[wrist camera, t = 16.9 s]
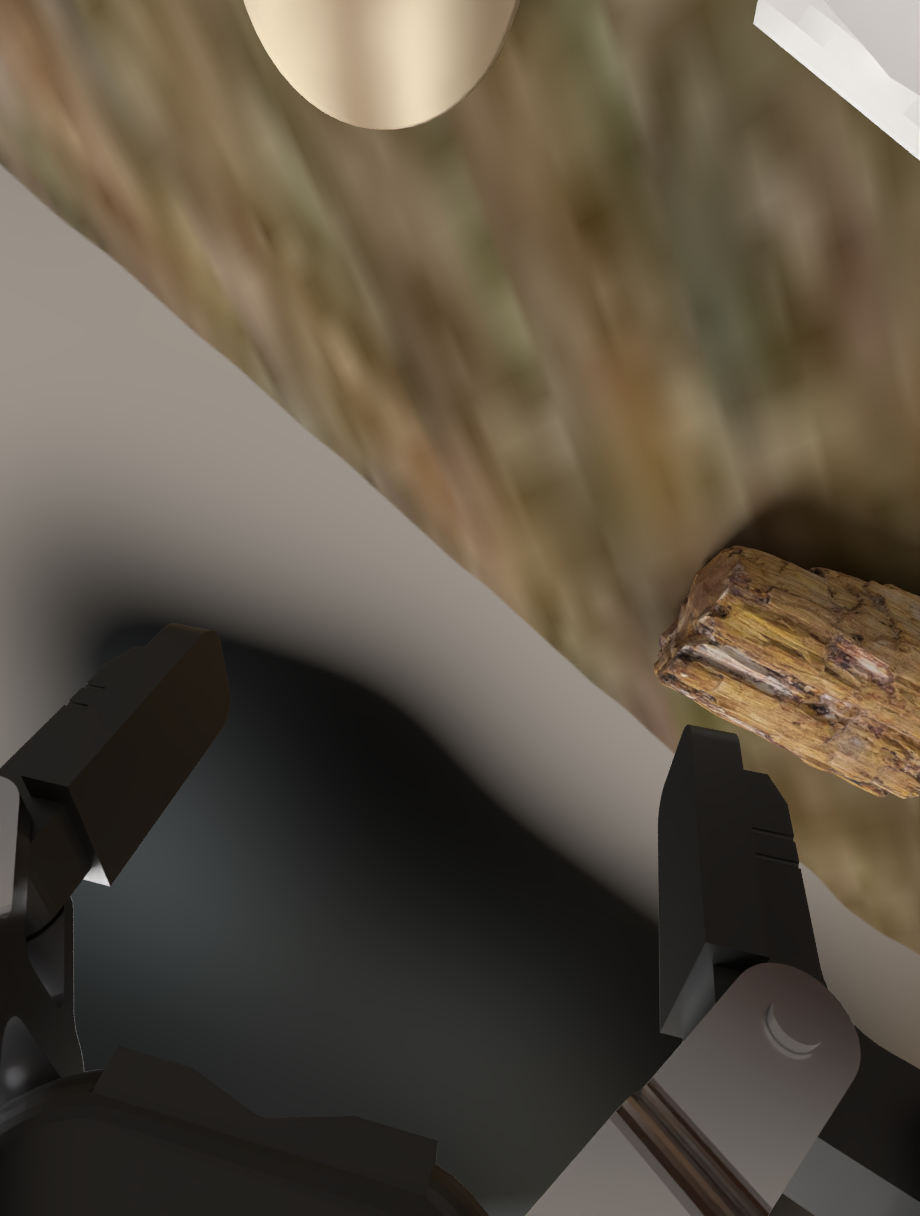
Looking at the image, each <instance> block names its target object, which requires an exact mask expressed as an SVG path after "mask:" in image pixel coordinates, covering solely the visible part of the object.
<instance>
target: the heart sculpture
mask: <svg viewBox="0 0 920 1216" xmlns="http://www.w3.org/2000/svg"><path fill="white" fill-rule="evenodd" d="M753 24H754V25H755V26H757V27H758V28H759V29H760V30H762V31H763V32H764V33H765V34H766V35H768V36H769V37H770V38H771V39H772V40H774V41H775V42H776V43H777V44H779V45H780V46H781V47H782V48H783V49H785V50H786V51H787V52H788V53H789V54H791V55H792V56H793V57H794V58H796V59H797V60H798V61H799V62H800V63H802V64H803V65H804V66H805V67H807V68H808V69H809V70H810V71H811V72H813V73H814V74H815V75H816V76H817V77H819V78H820V79H821V80H822V81H824V82H825V83H826V84H827V85H828V86H830V87H831V88H832V89H833V90H835V91H836V92H837V93H838V94H839V95H841V96H842V97H843V98H844V99H845V100H847V101H848V102H849V103H850V104H852V105H853V106H854V107H855V108H856V109H858V110H859V111H860V112H861V113H863V114H864V115H865V116H866V117H867V118H869V119H870V120H871V121H872V122H873V123H875V124H876V125H877V126H878V127H880V128H881V129H882V130H883V131H884V132H886V133H887V134H888V135H889V136H890V137H892V138H893V139H894V140H895V141H897V142H898V143H899V144H900V145H901V146H903V147H904V148H905V149H906V150H908V151H909V152H910V153H911V154H912V155H914V156H915V157H916V158H917V159H918V160H920V0H758V3H757V8H756V13H755V18H754V23H753Z"/></svg>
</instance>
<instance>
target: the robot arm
mask: <svg viewBox="0 0 920 1216" xmlns="http://www.w3.org/2000/svg"><path fill="white" fill-rule="evenodd" d="M230 701H231V698H230V690H229V685H228V680H227V674H226V669H225V664H224V659H223V653H222V649H221V643H220V639H219V636H218V635H217V633H216V632H214V631H212V630H206V629H201V628H196V627H191V626H186V625H181V624H176V623H172V624H169V625H167V626H165V627H164V628H163V629H162V630H161V631H160V632H159V633H158V634H157V635H156V636H155V637H154V638H153V639H152V641H151V642H150V643H149V644H148V645H147V646H146V647H139V646H136V647H134V648H132V649H131V650H129V651H127V652H125V653H123V654H122V655H120V656H118V657H116V658H114V659H113V660H111V661H109V662H107V663H106V664H105V665H104V666H103V668H102V669H100V670H99V671H98V672H97V673H96V674H95V675H94V676H93V677H92V678H91V679H90V680H89V681H88V682H87V683H86V687H85V688H81V689H80V690H79V691H78V692H77V693H76V694H75V695H74V696H73V697H72V698H71V699H70V700H69V704H68V705H67V706H65V705H64V706H63V707H62V708H61V709H60V710H59V711H58V712H57V713H56V714H55V715H54V716H53V717H52V718H51V719H50V720H49V721H48V722H47V723H46V724H45V725H44V726H43V727H42V728H41V729H40V730H39V731H38V732H37V733H36V734H35V735H34V736H33V737H32V738H31V739H30V740H29V741H27V742H26V743H25V744H24V745H23V746H22V747H21V748H20V749H19V750H18V751H17V752H16V754H15V755H13V756H12V757H11V758H10V760H8V761H7V762H6V763H5V764H4V765H3V766H2V767H1V768H0V1216H489V1215H488V1213H487V1212H486V1211H485V1210H484V1208H483V1207H482V1206H481V1205H480V1204H479V1202H478V1201H477V1200H476V1199H475V1197H474V1196H473V1195H472V1194H471V1192H469V1191H468V1190H467V1189H466V1188H465V1187H464V1186H463V1185H462V1184H461V1183H460V1182H459V1181H458V1180H457V1179H456V1178H454V1176H452V1175H451V1174H449V1173H448V1172H447V1171H445V1170H444V1169H443V1168H441V1167H440V1166H438V1165H437V1164H436V1154H437V1144H438V1141H436V1140H433V1139H429V1138H426V1137H423V1136H420V1135H416V1134H412V1133H409V1132H406V1131H403V1130H399V1129H396V1128H393V1127H389V1126H386V1125H382V1124H379V1123H376V1122H373V1121H369V1120H366V1119H362V1118H359V1117H355V1116H343V1117H301V1118H264V1117H261V1116H258V1115H257V1114H255V1113H253V1112H252V1111H251V1110H249V1109H248V1108H247V1107H245V1106H244V1105H242V1104H241V1103H240V1102H238V1101H237V1100H236V1099H234V1098H233V1097H231V1096H230V1095H229V1094H227V1093H226V1092H225V1091H223V1090H222V1089H221V1088H219V1087H218V1086H217V1085H215V1084H214V1083H212V1082H211V1081H210V1080H208V1079H207V1078H206V1077H204V1076H203V1075H202V1074H200V1073H199V1072H197V1071H196V1070H195V1069H193V1068H191V1067H188V1066H185V1065H181V1064H178V1063H174V1062H171V1061H168V1060H165V1059H161V1058H158V1057H154V1056H151V1055H148V1054H144V1053H141V1052H138V1051H134V1050H131V1049H128V1048H124V1047H121V1046H118V1047H117V1048H116V1050H115V1052H114V1054H113V1055H112V1057H111V1059H110V1060H109V1062H108V1064H107V1066H106V1067H105V1069H98V1070H93V1071H86V1072H84V1065H83V1058H82V1052H81V1048H80V1044H79V1040H78V1037H77V1033H76V1028H75V1020H74V942H73V939H74V938H73V937H74V931H73V901H72V899H71V894H72V893H73V892H74V890H75V889H76V888H77V886H78V885H79V884H80V883H81V881H82V880H83V879H84V880H88V881H92V882H95V883H99V884H103V885H107V886H111V885H112V883H113V882H114V880H115V878H116V877H117V876H118V874H119V873H120V872H121V870H122V869H123V868H124V866H125V865H126V863H127V862H128V861H129V859H130V858H131V856H132V855H133V854H134V852H135V851H136V849H137V848H138V846H139V845H140V844H141V842H142V841H143V839H144V838H145V837H146V835H147V834H148V832H149V831H150V830H151V828H152V827H153V825H154V824H155V822H156V821H157V820H158V818H159V817H160V816H161V814H162V813H163V811H164V810H165V808H166V807H167V806H168V804H169V803H170V801H171V800H172V799H173V797H174V796H175V794H176V793H177V792H178V790H179V789H180V787H181V786H182V784H183V783H184V782H185V780H186V779H187V777H188V776H189V775H190V773H191V772H192V770H193V769H194V767H195V766H196V765H197V763H198V762H199V761H200V759H201V758H202V756H203V755H204V754H205V752H206V751H207V749H208V748H209V746H210V745H211V744H212V742H213V741H214V739H215V738H216V737H217V735H218V734H219V732H220V731H221V729H222V728H223V726H224V724H225V722H226V719H227V717H228V713H229V709H230ZM793 837H794V834H793V829H792V824H791V819H790V814H789V809H788V804H787V803H786V801H785V800H784V798H783V797H782V795H781V794H780V792H779V791H778V789H777V788H776V786H775V785H774V783H773V782H772V780H771V779H770V777H769V776H768V775H767V774H762V773H757V772H752V771H747V770H743V763H742V756H741V749H740V743H739V739H738V736H737V735H736V734H734V733H729V732H724V731H719V730H714V729H709V728H703V727H698V726H693V725H686V727H685V728H684V730H683V733H682V735H681V738H680V741H679V744H678V747H677V750H676V753H675V756H674V759H673V761H672V765H671V767H670V770H669V773H668V776H667V779H666V782H665V784H664V788H663V791H662V795H661V801H660V807H659V816H658V882H659V975H660V1033H664V1034H668V1035H672V1036H676V1037H680V1038H683V1043H682V1044H681V1045H680V1046H679V1047H678V1049H677V1050H676V1051H675V1052H674V1053H673V1054H672V1055H671V1057H670V1058H669V1059H668V1060H667V1061H666V1062H665V1064H664V1065H663V1066H662V1067H661V1068H660V1069H659V1071H658V1072H657V1073H656V1074H655V1075H654V1076H653V1078H652V1079H651V1080H650V1081H649V1082H648V1083H647V1084H646V1085H645V1086H644V1088H642V1089H641V1090H640V1091H639V1092H635V1093H634V1094H632V1095H631V1096H630V1097H629V1098H628V1099H627V1100H626V1101H625V1102H624V1103H623V1104H622V1105H621V1106H620V1107H619V1108H618V1109H617V1110H616V1112H615V1113H614V1114H613V1115H612V1116H611V1117H610V1118H609V1119H608V1121H607V1122H606V1123H605V1124H604V1125H603V1126H602V1128H601V1129H600V1130H599V1131H598V1132H597V1133H596V1135H595V1136H594V1137H593V1138H592V1139H591V1140H590V1141H589V1143H588V1144H587V1145H586V1146H585V1147H584V1148H583V1150H582V1151H581V1152H580V1153H579V1154H578V1156H576V1158H575V1159H574V1160H573V1161H572V1162H571V1163H570V1165H569V1166H568V1167H567V1168H566V1169H565V1170H564V1171H563V1173H562V1174H561V1175H560V1176H559V1177H558V1178H557V1180H556V1181H555V1182H554V1183H553V1184H552V1185H551V1187H550V1188H549V1189H548V1190H547V1191H546V1193H545V1194H544V1195H543V1196H542V1197H541V1198H540V1199H539V1200H538V1202H537V1203H536V1204H535V1205H534V1206H533V1207H532V1208H531V1210H530V1211H529V1212H528V1213H527V1214H526V1215H525V1216H768V1215H769V1213H770V1211H771V1210H772V1208H773V1207H774V1205H775V1203H776V1202H777V1200H778V1199H779V1197H780V1195H781V1194H782V1193H783V1194H784V1195H786V1196H787V1197H789V1198H790V1199H792V1200H793V1201H795V1202H796V1203H797V1204H799V1205H801V1206H802V1207H803V1208H805V1209H806V1210H808V1211H809V1212H811V1213H812V1214H814V1215H815V1216H920V1069H918V1068H917V1067H915V1066H913V1065H911V1064H910V1063H908V1062H906V1061H904V1060H902V1059H901V1058H899V1057H897V1056H895V1055H894V1054H892V1053H890V1052H888V1051H887V1050H885V1049H884V1048H882V1047H881V1046H879V1045H877V1044H876V1043H875V1042H873V1041H872V1040H871V1039H869V1038H868V1037H867V1036H866V1035H864V1034H863V1033H862V1032H861V1031H860V1030H859V1029H858V1028H857V1027H856V1026H855V1025H854V1024H853V1022H852V1020H851V1018H850V1016H849V1014H848V1013H847V1011H846V1010H845V1008H844V1007H843V1006H842V1004H841V1003H840V1001H839V1000H838V999H837V998H836V997H835V996H834V994H832V992H831V991H830V990H828V988H827V985H826V983H825V981H824V978H823V975H822V971H821V968H820V963H819V958H818V953H817V948H816V943H815V939H814V933H813V928H812V923H811V918H810V914H809V908H808V903H807V898H806V894H805V888H804V884H803V879H802V874H801V869H799V868H798V864H799V859H798V854H797V849H796V844H795V842H793Z"/></svg>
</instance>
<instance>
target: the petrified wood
mask: <svg viewBox="0 0 920 1216" xmlns="http://www.w3.org/2000/svg"><path fill="white" fill-rule="evenodd" d="M659 647H660V648H661V650H660V651H659V654H658V657H659V660H658V661H657V662H656V663H655V664H654V672H655V675H656V676H657V678H658V679H659V681H660V682H661V683H662V684H663V685H665V686H668V687H670V688H672V689H674V690H676V691H677V692H679V693H680V694H682V695H684V696H686V697H689V698H691V699H692V700H694V701H695V702H697V703H698V704H699V705H701V706H702V707H704V708H705V709H707V710H708V711H710V712H712V713H713V714H715V715H717V716H719V717H721V718H723V719H725V720H727V721H729V722H731V723H733V724H735V725H738V726H740V727H742V728H744V729H746V730H749V731H751V732H754V733H755V734H757V735H759V736H760V737H762V738H764V739H766V740H768V741H769V742H771V743H773V744H775V745H777V746H779V747H781V748H783V749H786V750H788V751H789V752H791V753H793V754H795V755H797V756H799V757H800V758H801V759H802V761H803V762H805V763H807V764H809V765H811V766H813V767H815V768H817V769H819V770H822V771H827V772H831V773H833V774H835V775H837V776H839V777H841V778H842V779H844V780H846V781H848V782H849V783H851V784H853V785H855V786H857V787H859V788H861V789H863V790H865V791H868V792H870V793H872V794H874V795H876V796H878V797H880V798H885V797H886V796H887V795H888V794H890V793H893V794H895V795H897V796H898V797H900V798H904V799H906V798H910V797H915V796H920V596H917V595H914V594H912V593H909V592H906V591H904V590H902V589H900V588H898V587H896V586H894V585H892V584H884V585H881V584H879V583H877V582H874V581H869V582H866V581H864V580H861V579H859V578H856V577H853V576H850V575H846V574H844V573H841V572H836V571H833V570H830V569H826V568H822V567H816V568H814V567H812V568H811V569H810V570H809V571H808V570H805V569H803V568H801V567H799V566H797V565H795V564H793V563H790V562H787V561H785V560H783V559H780V558H778V557H776V556H774V555H771V554H768V553H765V552H763V551H760V550H757V549H754V548H747V547H744V546H735V545H734V546H732V547H730V548H728V549H723V550H722V551H721V552H720V553H719V554H718V555H717V556H716V557H714V558H712V560H711V561H710V562H709V563H708V564H707V565H706V566H704V567H703V568H702V569H700V570H699V571H698V572H697V573H696V576H695V579H694V581H693V583H692V585H691V588H690V592H689V594H688V595H687V599H686V600H685V601H684V602H683V603H682V605H681V610H680V615H679V617H678V618H675V619H673V621H672V622H671V624H670V626H669V627H668V629H667V630H666V631H665V632H664V633H663V634H662V635H661V636H660V640H659Z"/></svg>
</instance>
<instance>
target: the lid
mask: <svg viewBox="0 0 920 1216" xmlns="http://www.w3.org/2000/svg"><path fill="white" fill-rule="evenodd" d="M519 2H520V0H244V3H245V6H246V9H247V12H248V14H249V16H250V19H251V21H252V24H253V26H254V28H255V31H256V33H257V35H258V37H259V39H260V40H261V42H262V44H263V46H264V48H265V50H266V51H267V53H268V55H269V56H270V58H271V59H272V61H273V62H274V64H275V65H276V67H277V68H278V70H279V71H280V72H281V73H282V75H283V76H284V77H285V78H286V79H287V80H288V82H289V83H290V84H291V85H292V86H293V88H295V89H296V90H297V91H298V92H299V93H300V94H301V95H302V96H303V97H304V98H305V99H306V100H307V101H309V102H310V103H312V104H313V105H314V106H316V107H317V108H319V109H320V110H321V111H323V112H324V113H326V114H328V115H330V116H332V117H334V118H336V119H338V120H340V121H343V122H345V123H348V124H351V125H354V126H358V127H364V128H369V129H402V128H408V127H414V126H417V125H420V124H423V123H426V122H429V121H431V120H433V119H435V118H437V117H439V116H441V115H443V114H445V113H446V112H448V111H449V110H451V109H452V108H453V107H455V106H456V105H457V104H459V103H460V102H461V101H462V100H463V99H464V98H465V97H467V96H468V95H469V94H470V93H471V92H472V91H473V90H474V89H475V88H476V86H477V85H478V84H479V83H480V81H481V80H482V79H483V78H484V76H485V75H486V74H487V73H488V71H489V70H490V68H491V66H492V65H493V63H494V61H495V60H496V58H497V57H498V55H499V53H500V51H501V49H502V47H503V45H504V43H505V41H506V39H507V36H508V34H509V32H510V30H511V27H512V24H513V21H514V18H515V15H516V12H517V10H518V6H519Z"/></svg>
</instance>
